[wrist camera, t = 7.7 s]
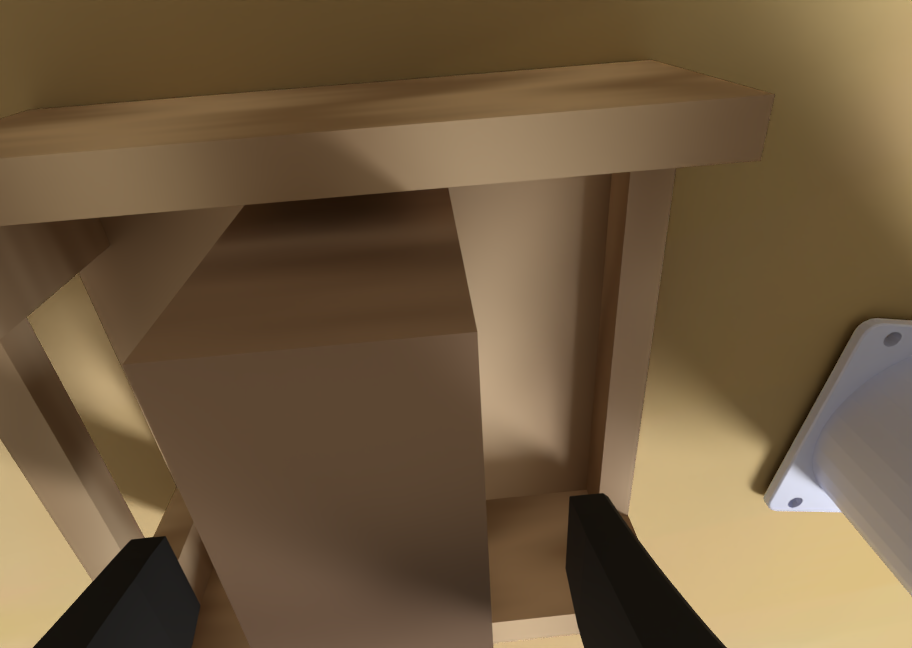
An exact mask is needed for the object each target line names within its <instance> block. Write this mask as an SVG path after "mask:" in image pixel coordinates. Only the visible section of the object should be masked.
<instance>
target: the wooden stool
mask: <svg viewBox="0 0 912 648" xmlns="http://www.w3.org/2000/svg"><path fill="white" fill-rule="evenodd" d="M774 97H775V94H772V93H768V92H765V91H761V90H758V89H754V88H751V87H747V86H744V85H740V84H736V83H733V82H729V81H726V80H722V79H719V78H715V77H712V76H708V75H704V74H701V73H697V72H694V71H690V70H687V69H683V68H680V67H676V66H672V65H669V64H665V63H662V62H658V61H655V60H643V61H630V62H618V63H605V64H593V65H580V66H568V67H556V68H543V69H531V70H518V71H506V72H493V73H481V74H468V75H456V76H443V77H431V78H419V79H406V80H394V81H381V82H369V83H356V84H344V85H331V86H319V87H306V88H294V89H282V90H269V91H257V92H244V93H232V94H219V95H207V96H194V97H182V98H169V99H157V100H145V101H132V102H120V103H107V104H95V105H82V106H70V107H57V108H45V109H32V110H27V111H24V112H20V113H17V114H14V115H11V116H8V117H4V118H1V119H0V439H1V441H2V442H3V444H4V445H5V447H6V448H7V450H8V451H9V453H10V454H11V456H12V457H13V459H14V461H15V462H16V464H17V465H18V467H19V468H20V470H21V471H22V473H23V474H24V476H25V478H26V479H27V481H28V482H29V484H30V485H31V487H32V488H33V490H34V491H35V493H36V494H37V496H38V498H39V499H40V501H41V502H42V504H43V505H44V507H45V508H46V510H47V511H48V513H49V515H50V516H51V518H52V519H53V521H54V522H55V524H56V525H57V527H58V528H59V530H60V531H61V533H62V535H63V536H64V538H65V539H66V541H67V542H68V544H69V545H70V547H71V548H72V550H73V552H74V553H75V555H76V556H77V558H78V559H79V561H80V562H81V564H82V565H83V567H84V568H85V570H86V572H87V573H88V575H89V576H90V578H91V579H92V581H94V580H95V578H96V577H97V576H98V575H99V574H100V573H101V572H102V571H103V570H104V568H105V567H106V566H107V565H108V564H109V563H110V562H111V561H112V559H113V558H114V557H115V556H116V555H117V554H118V553H119V552H120V551H121V550H122V549H123V547H124V546H125V545H126V544H127V543H128V542H129V541H130V540H131V539H140V538H144V536H143V534H142V532H141V530H140V528H139V526H138V524H137V523H136V521H135V519H134V517H133V515H132V513H131V511H130V510H129V508H128V506H127V504H126V502H125V500H124V498H123V497H122V495H121V493H120V491H119V489H118V487H117V485H116V483H115V482H114V480H113V478H112V476H111V474H110V472H109V470H108V469H107V467H106V465H105V463H104V461H103V459H102V457H101V455H100V454H99V452H98V450H97V448H96V446H95V444H94V442H93V441H92V439H91V437H90V435H89V433H88V431H87V429H86V428H85V426H84V424H83V422H82V420H81V418H80V416H79V414H78V413H77V411H76V409H75V407H74V405H73V403H72V401H71V400H70V398H69V396H68V394H67V392H66V390H65V388H64V386H63V385H62V383H61V381H60V379H59V377H58V375H57V373H56V372H55V370H54V368H53V366H52V364H51V362H50V360H49V359H48V357H47V355H46V353H45V351H44V349H43V347H42V345H41V344H40V342H39V340H38V338H37V336H36V334H35V332H34V331H33V329H32V327H31V325H30V323H29V321H28V319H27V316H28V315H29V314H31V313H32V312H33V311H34V310H35V309H37V308H38V307H39V306H40V305H41V304H42V303H44V302H45V301H46V300H47V299H48V298H49V297H51V296H52V295H53V294H54V293H55V292H56V291H58V290H59V289H60V288H61V287H62V286H63V285H65V284H66V283H67V282H68V281H69V280H71V279H72V278H73V277H74V276H75V275H76V274H78V273H79V275H80V277H81V280H82V282H83V284H84V286H85V288H86V290H87V293H88V295H89V297H90V299H91V301H92V304H93V306H94V308H95V310H96V312H97V314H98V317H99V319H100V321H101V323H102V325H103V328H104V330H105V332H106V334H107V336H108V338H109V341H110V343H111V345H112V347H113V349H114V352H115V354H116V356H117V358H118V360H119V362H120V365H121V367H122V369H123V371H124V373H125V376H126V378H127V380H128V382H129V384H130V386H131V389H132V391H133V393H134V395H135V397H136V400H137V402H138V404H139V406H140V408H141V410H142V413H143V415H144V417H145V419H146V421H147V423H148V426H149V428H150V430H151V432H152V434H153V431H152V429H151V427H150V425H149V422H148V420H147V418H146V416H145V414H144V411H143V409H142V407H141V405H140V403H139V400H138V398H137V396H136V394H135V392H134V389H133V387H132V385H131V383H130V381H129V378H128V376H127V374H126V372H125V370H124V367H123V365H122V364H123V363H124V362H125V360H126V359H127V358H128V356H129V355H130V354H131V352H132V351H133V350H134V349H135V347H136V346H137V345H138V343H139V342H140V341H141V339H142V338H143V337H144V336H145V334H146V333H147V332H148V330H149V329H150V328H151V326H152V325H153V324H154V322H155V321H156V320H157V319H158V317H159V316H160V315H161V313H162V312H163V311H164V309H165V308H166V307H167V306H168V304H169V303H170V302H171V300H172V299H173V298H174V296H175V295H176V294H177V292H178V291H179V290H180V289H181V287H182V286H183V285H184V283H185V282H186V281H187V279H188V278H189V277H190V276H191V274H192V273H193V272H194V270H195V269H196V268H197V266H198V265H199V264H200V263H201V261H202V260H203V259H204V257H205V256H206V255H207V253H208V252H209V251H210V249H211V248H212V247H213V246H214V244H215V243H216V242H217V240H218V239H219V238H220V236H221V235H222V234H223V233H224V231H225V230H226V229H227V227H228V226H229V225H230V223H231V222H232V221H233V219H234V218H235V217H236V216H237V214H238V213H239V212H240V210H241V209H242V208H243V206H244V205H250V204H262V203H273V202H285V201H297V200H308V199H320V198H331V197H343V196H355V195H366V194H378V193H389V192H401V191H413V190H424V189H436V188H447V187H448V189H449V194H450V199H451V204H452V209H453V214H454V219H455V224H456V229H457V234H458V239H459V243H460V248H461V253H462V258H463V263H464V268H465V273H466V278H467V283H468V288H469V293H470V298H471V303H472V308H473V313H474V318H475V322H476V327H477V334H478V354H479V374H480V393H481V413H482V433H483V453H484V473H485V493H486V513H487V533H488V552H489V572H490V592H491V612H492V632H493V644H495V643H504V642H513V641H522V640H531V639H540V638H549V637H558V636H567V635H577V634H580V632H579V629H578V625H577V621H576V616H575V612H574V607H573V602H572V598H571V593H570V588H569V583H568V579H567V574H566V569H565V567H566V549H567V532H568V514H569V497H570V496H577V495H587V494H598V493H604V494H605V495H607V496H608V497H609V498H610V500H611V501H612V503H613V505H614V506H615V508H616V509H617V510H618V512H619V513H620V515H621V516H622V518H623V519H624V521H625V522H626V523H627V525H628V526H629V528H630V529H631V530H632V532H633V533H634V535H635V536H636V533H635V531H634V529H633V526H632V524H631V521H630V519H629V517H628V511H629V504H630V497H631V489H632V482H633V475H634V468H635V461H636V453H637V446H638V439H639V432H640V425H641V417H642V410H643V403H644V396H645V389H646V381H647V374H648V367H649V360H650V353H651V345H652V338H653V331H654V324H655V317H656V310H657V302H658V295H659V288H660V281H661V274H662V266H663V259H664V252H665V245H666V238H667V230H668V223H669V216H670V209H671V202H672V194H673V187H674V180H675V173H676V168H679V167H691V166H703V165H714V164H726V163H738V162H749V161H761V157H762V152H763V148H764V143H765V138H766V134H767V129H768V124H769V120H770V115H771V111H772V106H773V101H774ZM153 437H154V439H155V441H156V443H157V445H158V442H157V440H156V438H155V436H154V434H153ZM158 447H159V445H158ZM159 450H160V452H161V454H162V456H163V453H162V451H161V449H160V447H159ZM163 458H164V456H163ZM164 461H165V463H166V465H167V467H168V464H167V462H166V460H165V458H164ZM168 469H169V467H168ZM169 471H170V469H169ZM170 474H171V476H172V478H173V475H172V473H171V471H170ZM173 480H174V478H173ZM174 482H175V480H174ZM175 485H176V489H175V492H174V494H173V496H172V498H171V500H170V502H169V504H168V507H167V509H166V511H165V513H164V515H163V517H162V519H161V522H160V524H159V526H158V528H157V530H156V532H155V534H154V537H160V536H166V538H167V540H168V542H169V544H170V546H171V548H172V550H173V552H174V554H175V556H176V558H177V560H178V562H179V564H180V566H181V568H182V569H183V571H184V573H185V575H186V577H187V579H188V581H189V583H190V585H191V587H192V589H193V591H194V593H195V595H196V597H197V599H198V601H199V603H200V605H201V606H200V611H199V615H198V620H197V625H196V630H195V635H194V639H193V644H192V648H251V647H250V645H249V643H248V641H247V639H246V636H245V634H244V632H243V630H242V628H241V625H240V623H239V621H238V619H237V616H236V614H235V612H234V610H233V608H232V605H231V603H230V601H229V599H228V597H227V594H226V592H225V590H224V588H223V586H222V583H221V581H220V579H219V577H218V575H217V572H216V570H215V568H214V566H213V564H212V561H211V559H210V557H209V555H208V553H207V550H206V548H205V546H204V544H203V542H202V539H201V537H200V535H199V533H198V531H197V528H196V526H195V524H194V522H193V519H192V517H191V515H190V513H189V511H188V508H187V506H186V504H185V502H184V500H183V497H182V495H181V493H180V491H179V489H178V486H177V484H176V482H175ZM636 537H637V536H636ZM637 539H638V538H637Z"/></svg>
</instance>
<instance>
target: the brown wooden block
mask: <svg viewBox="0 0 912 648" xmlns="http://www.w3.org/2000/svg"><path fill="white" fill-rule="evenodd" d="M122 365H123V367H124V370H125V372H126V374H127V376H128V378H129V381H130V383H131V385H132V387H133V389H134V392H135V394H136V396H137V398H138V400H139V403H140V405H141V407H142V409H143V411H144V414H145V416H146V418H147V420H148V422H149V425H150V427H151V429H152V431H153V434H154V436H155V438H156V440H157V442H158V445H159V447H160V449H161V451H162V453H163V456H164V458H165V460H166V462H167V464H168V467H169V469H170V471H171V473H172V475H173V478H174V480H175V482H176V484H177V486H178V489H179V491H180V493H181V495H182V497H183V500H184V502H185V504H186V506H187V508H188V511H189V513H190V515H191V517H192V519H193V522H194V524H195V526H196V528H197V531H198V533H199V535H200V537H201V539H202V542H203V544H204V546H205V548H206V550H207V553H208V555H209V557H210V559H211V561H212V564H213V566H214V568H215V570H216V572H217V575H218V577H219V579H220V581H221V583H222V586H223V588H224V590H225V592H226V594H227V597H228V599H229V601H230V603H231V605H232V608H233V610H234V612H235V614H236V616H237V619H238V621H239V623H240V625H241V628H242V630H243V632H244V634H245V636H246V639H247V641H248V643H249V645H250V647H251V648H493V632H492V612H491V592H490V572H489V552H488V533H487V513H486V493H485V473H484V453H483V433H482V413H481V393H480V374H479V354H478V334H477V327H476V322H475V318H474V313H473V308H472V303H471V298H470V293H469V288H468V283H467V278H466V273H465V268H464V263H463V258H462V253H461V248H460V243H459V239H458V234H457V229H456V224H455V219H454V214H453V209H452V204H451V199H450V194H449V189H448V187H447V188H436V189H424V190H413V191H401V192H389V193H378V194H366V195H355V196H343V197H331V198H320V199H308V200H297V201H285V202H273V203H262V204H250V205H244V206H243V208H242V209H241V210H240V212H239V213H238V214H237V216H236V217H235V218H234V219H233V221H232V222H231V223H230V225H229V226H228V227H227V229H226V230H225V231H224V233H223V234H222V235H221V236H220V238H219V239H218V240H217V242H216V243H215V244H214V246H213V247H212V248H211V249H210V251H209V252H208V253H207V255H206V256H205V257H204V259H203V260H202V261H201V263H200V264H199V265H198V266H197V268H196V269H195V270H194V272H193V273H192V274H191V276H190V277H189V278H188V279H187V281H186V282H185V283H184V285H183V286H182V287H181V289H180V290H179V291H178V292H177V294H176V295H175V296H174V298H173V299H172V300H171V302H170V303H169V304H168V306H167V307H166V308H165V309H164V311H163V312H162V313H161V315H160V316H159V317H158V319H157V320H156V321H155V322H154V324H153V325H152V326H151V328H150V329H149V330H148V332H147V333H146V334H145V336H144V337H143V338H142V339H141V341H140V342H139V343H138V345H137V346H136V347H135V349H134V350H133V351H132V352H131V354H130V355H129V356H128V358H127V359H126V360H125V362H124V363H123V364H122Z"/></svg>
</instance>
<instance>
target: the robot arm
mask: <svg viewBox="0 0 912 648" xmlns="http://www.w3.org/2000/svg"><path fill="white" fill-rule="evenodd" d="M887 335H888V337H887ZM764 501H765V503H766V504H767V506H768V507H769V508H770V509H771V510H775V511H807V512H842V513H843V514H844V515H845V517H846V518H847V519H848V520H849V521H850V523H851V524H852V525H853V526H854V527H855V529H856V530H857V531H858V532H859V533H860V535H861V536H862V537H863V538H864V539H865V541H866V542H867V543H868V544H869V545H870V547H871V548H872V549H873V550H874V551H875V553H876V554H877V555H878V556H879V557H880V559H881V560H882V561H883V562H884V563H885V565H886V566H887V567H888V568H889V569H890V571H891V572H892V573H893V574H894V575H895V577H896V578H897V579H898V580H899V581H900V583H901V584H902V585H903V586H904V587H905V589H906V590H907V591H908V592H909V594H910V595H911V596H912V320H899V319H883V318H874V319H869V320H867V321H864V322H863V323H861V324H860V325H859V326H858V327H857V328H856V329H855V331H854V333H853V334H852V336H851V338H850V340H849V342H848V343H847V345H846V347H845V349H844V351H843V353H842V354H841V356H840V358H839V360H838V362H837V363H836V365H835V367H834V369H833V371H832V373H831V374H830V376H829V378H828V380H827V382H826V383H825V385H824V387H823V389H822V391H821V393H820V394H819V396H818V398H817V400H816V402H815V404H814V405H813V407H812V409H811V411H810V413H809V414H808V416H807V418H806V420H805V422H804V424H803V425H802V427H801V429H800V431H799V433H798V434H797V436H796V438H795V440H794V442H793V444H792V445H791V447H790V449H789V451H788V453H787V454H786V456H785V458H784V460H783V462H782V464H781V465H780V467H779V469H778V471H777V473H776V474H775V476H774V478H773V480H772V482H771V484H770V485H769V487H768V489H767V491H766V493H765V495H764ZM565 569H566V574H567V579H568V583H569V588H570V593H571V598H572V602H573V607H574V612H575V616H576V621H577V625H578V629H579V632H580V635H581V639H582V642H583V645H584V648H726V647H725V645H724V644H723V643H722V642H721V641H720V640H719V639H718V638H717V637H716V635H715V634H714V633H713V632H712V631H711V630H710V629H709V627H708V626H707V625H706V624H705V623H704V622H703V620H702V619H701V618H700V617H699V616H698V615H697V613H696V612H695V611H694V610H693V609H692V607H691V606H690V605H689V604H688V602H687V601H686V600H685V599H684V598H683V596H682V595H681V594H680V593H679V591H678V590H677V589H676V588H675V587H674V585H673V584H672V583H671V582H670V580H669V579H668V578H667V577H666V575H665V574H664V573H663V572H662V570H661V569H660V568H659V567H658V565H657V564H656V563H655V561H654V560H653V559H652V557H651V556H650V555H649V553H648V552H647V551H646V549H645V548H644V547H643V545H642V544H641V543H640V541H639V540H638V539H637V537H636V536H635V535H634V533H633V532H632V530H631V529H630V528H629V526H628V525H627V523H626V522H625V521H624V519H623V518H622V516H621V515H620V513H619V512H618V510H617V509H616V508H615V506H614V505H613V503H612V501H611V500H610V498H609V497H608V496H607V495H605V494H604V493H598V494H587V495H577V496H570V497H569V514H568V532H567V549H566V567H565ZM200 606H201V605H200V603H199V601H198V599H197V597H196V595H195V593H194V591H193V589H192V587H191V585H190V583H189V581H188V579H187V577H186V575H185V573H184V571H183V569H182V568H181V566H180V564H179V562H178V560H177V558H176V556H175V554H174V552H173V550H172V548H171V546H170V544H169V542H168V540H167V538H166V536H160V537H150V538H140V539H131V540H130V541H129V542H128V543H127V544H126V545H125V546H124V547H123V549H122V550H121V551H120V552H119V553H118V554H117V555H116V556H115V557H114V558H113V559H112V561H111V562H110V563H109V564H108V565H107V566H106V567H105V568H104V570H103V571H102V572H101V573H100V574H99V575H98V576H97V577H96V578H95V580H94V581H93V582H92V583H91V584H90V585H89V586H88V587H87V588H86V590H85V591H84V592H83V593H82V594H81V595H80V596H79V597H78V599H77V600H76V601H75V602H74V603H73V604H72V605H71V606H70V607H69V609H68V610H67V611H66V612H65V613H64V614H63V615H62V616H61V617H60V619H59V620H58V621H57V622H56V623H55V624H54V625H53V626H52V627H51V628H50V630H49V631H48V632H47V633H46V634H45V635H44V636H43V637H42V638H41V639H40V640H39V641H38V643H37V644H36V645H35V646H34V647H33V648H192V644H193V639H194V635H195V630H196V625H197V620H198V615H199V611H200Z"/></svg>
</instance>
